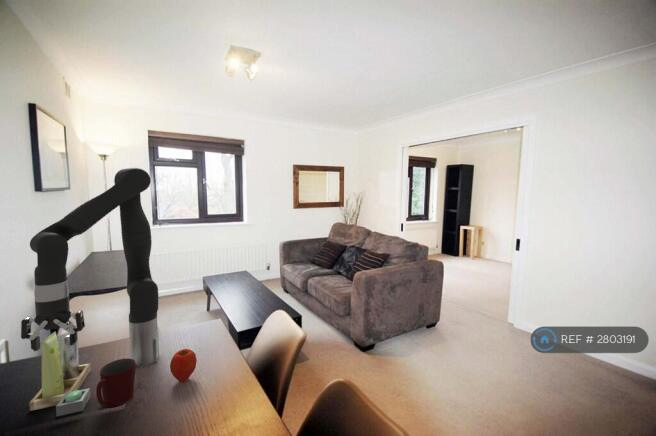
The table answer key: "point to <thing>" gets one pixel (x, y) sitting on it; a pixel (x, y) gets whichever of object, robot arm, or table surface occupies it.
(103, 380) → the mug
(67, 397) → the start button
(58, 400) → the wooden compartment tray
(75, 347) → the seated billet
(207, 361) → the table surface
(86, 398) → the grey square dish
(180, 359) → the apple
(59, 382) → the tube
